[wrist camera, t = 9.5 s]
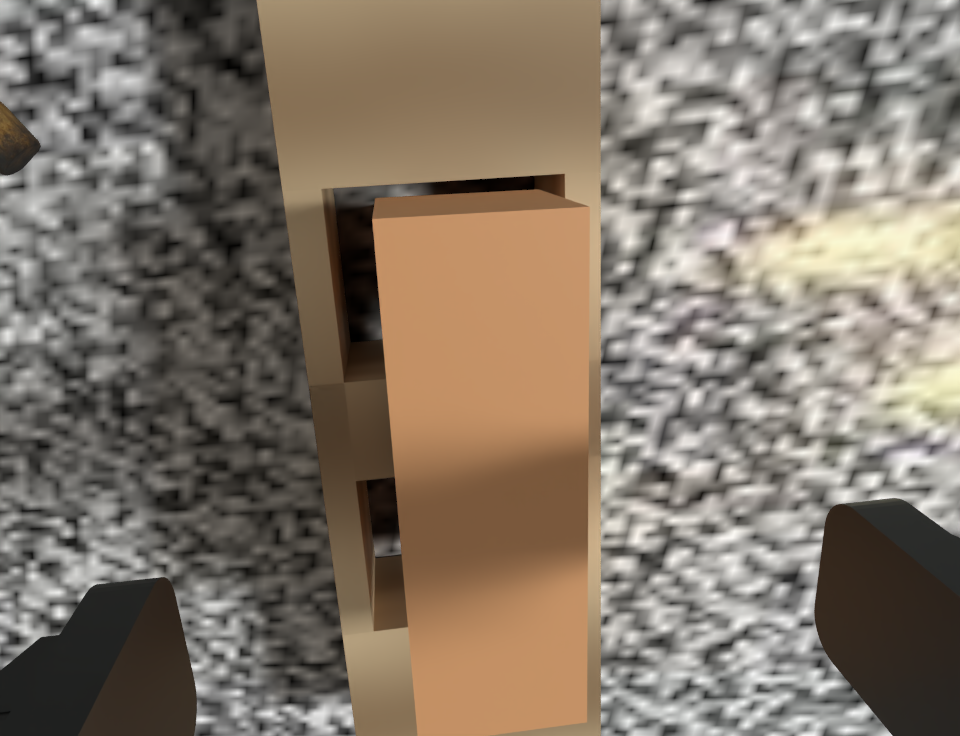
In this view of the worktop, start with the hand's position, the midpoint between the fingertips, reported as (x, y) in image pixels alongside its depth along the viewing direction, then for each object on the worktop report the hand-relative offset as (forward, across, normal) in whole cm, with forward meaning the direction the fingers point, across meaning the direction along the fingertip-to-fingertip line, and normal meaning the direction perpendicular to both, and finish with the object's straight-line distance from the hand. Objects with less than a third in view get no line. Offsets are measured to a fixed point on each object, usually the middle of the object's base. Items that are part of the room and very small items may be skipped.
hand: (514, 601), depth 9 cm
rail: (+10, 0, 0) cm, 10 cm away
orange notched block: (+10, 0, 0) cm, 10 cm away
